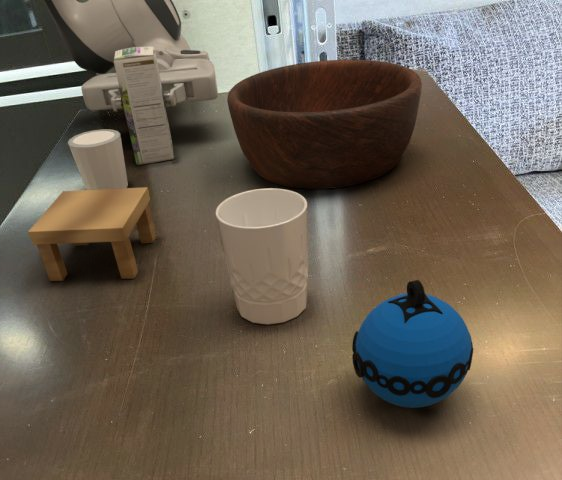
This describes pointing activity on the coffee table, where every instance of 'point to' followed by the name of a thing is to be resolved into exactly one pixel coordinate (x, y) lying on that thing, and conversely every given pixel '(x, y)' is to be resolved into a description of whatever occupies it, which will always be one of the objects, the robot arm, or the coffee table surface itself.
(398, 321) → the ornament
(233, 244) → the white cup
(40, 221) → the stand
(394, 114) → the wooden bowl
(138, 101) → the syrup box
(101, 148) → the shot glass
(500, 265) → the coffee table surface
